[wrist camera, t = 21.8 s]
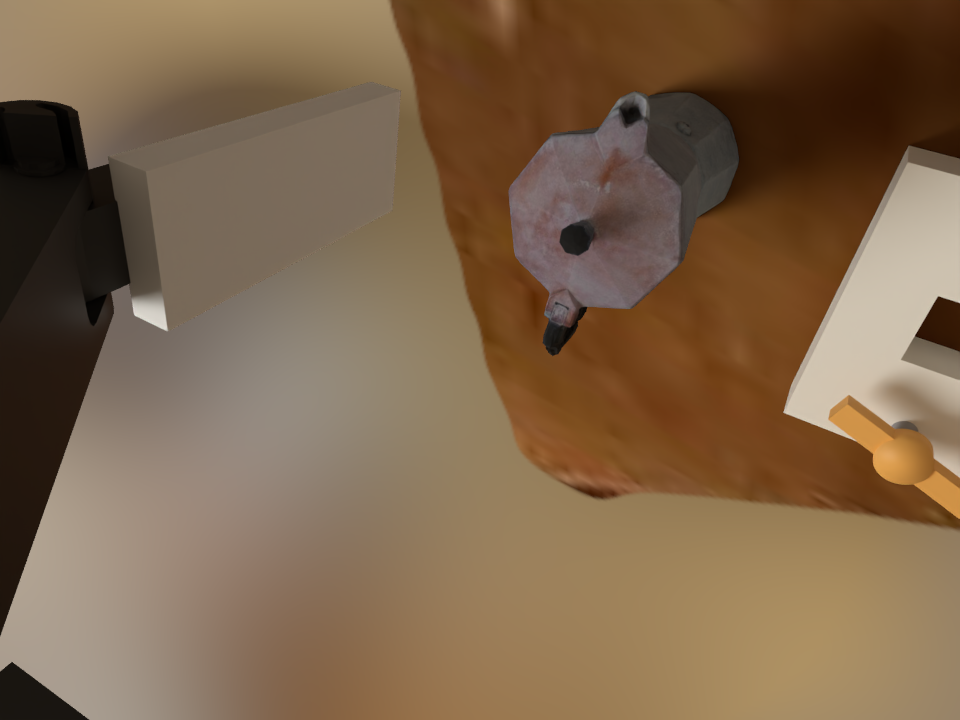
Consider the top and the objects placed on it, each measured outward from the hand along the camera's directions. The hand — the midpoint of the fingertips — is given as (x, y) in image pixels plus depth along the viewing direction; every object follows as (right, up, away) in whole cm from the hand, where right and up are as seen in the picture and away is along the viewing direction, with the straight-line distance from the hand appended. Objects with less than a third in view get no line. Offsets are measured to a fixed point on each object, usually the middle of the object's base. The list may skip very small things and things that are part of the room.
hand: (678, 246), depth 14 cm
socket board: (+26, +1, +32) cm, 41 cm away
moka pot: (+10, +11, +36) cm, 39 cm away
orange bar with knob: (+24, -9, +31) cm, 40 cm away
